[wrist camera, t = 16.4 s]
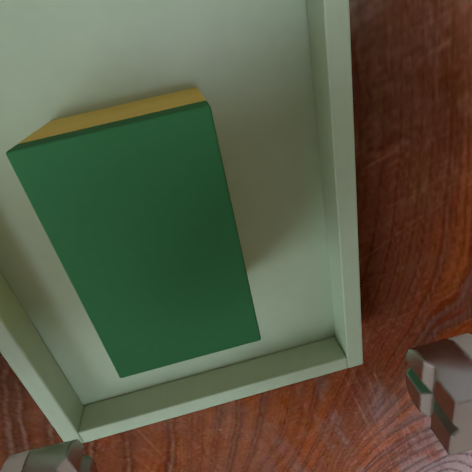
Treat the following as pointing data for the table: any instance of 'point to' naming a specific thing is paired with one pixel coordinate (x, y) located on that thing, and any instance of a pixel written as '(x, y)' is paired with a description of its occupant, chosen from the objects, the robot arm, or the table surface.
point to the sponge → (143, 227)
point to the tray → (238, 179)
